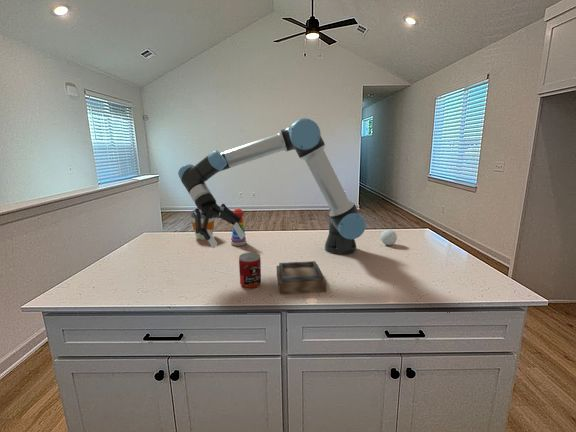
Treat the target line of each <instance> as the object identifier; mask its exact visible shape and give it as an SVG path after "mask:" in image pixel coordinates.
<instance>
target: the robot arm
mask: <svg viewBox="0 0 576 432" xmlns="http://www.w3.org/2000/svg"><path fill="white" fill-rule="evenodd" d="M325 146H326V144H325V141H324V139H323V137H322V135H321V129H320V127H319V125H318V124H317V122H315V121H314V120H312V119H310V118H307V117H305V118H304V117H302V118H299V119H297V120H295V121H294V122H293V123H292V124H291V125H290V126H288V127H286V128H284V129H280V130H279V132H277V133H275V134H272V135H270V136H267V137H264V138H260V139H257V140H254V141H252V142H248V143H246V144H243V145H240V146H237V147H235V148H234V147H233V148H231V149H228V150H225V151H223V152H220V151H219V150H213V151H212V152H210V153H208V155H206V156H205V157H204V158H203V159H202V160H200V161H199V162H198V163H196V164H195V165H193V164H192V163H190V164H189V163H188V164H185V165H183V166H181V167H180V169H179V170H178V173H177V175H178V177H179V178H180V182H181V183H182V185H183V187H184V188H185V190H186V191H187V192H188V194H189V196H190V198H191V199H192V201H193V203H194V204H195V206H196V208H195V209H194V210H195V211H194V213H193V214H194V216H195V227H196V233H197V234H198V233H200V235H203V236H204V237H205V239H204V240H205V241H208V243H209V244H210V246H211V247H212V249H215V248H216V246H217V245H218V242H217V240H216V239H215V237H214V236H213V235H214V234H213V235H212V234H211V232H210V230H209V229H208V230H207V231H206V229H207V225H208V221H209V218H210V219H212V218H214V219H215V218H218V219H221V220H223V221H225V222H227V223H229V224H230V225H232V229H233V228H234V229H235V231H236V232H237V234H238V236H239V237H240V239H243V238H244V237H246V233H245V232H243V231H242V227H241V226H240V224H239V222H240V220H241V218H242V217H241V218H240V217H238V216H237V215H236V214H235V213H233V211H232V209H229V207H227V205H226V204H225V203H222V204H221V205H218V204H217V200H216V198H215V197H214V195H213V194H212V192H211V190H210V189H209V187H208V185H207V184H206V181H208V180H209V179H211V178H212V177H214V175H216V174H218V173H219V172H222V171H225V170H229V169H230V168H233V167H237V166H240V165H244V164H246V163H249V162H253V161H255V160H258V159H261V158H264V157H268V156H271V155H274V154H277V153H280V152H283V151H284V152H290V151H292V150H293V151H295V152H296V154H297V156H298V157H299V159H301V160H303V161H304V162H305V163H306V165H307V167H308V169H309V171H310V172H311V175H312V177H313V178H314V180H315V182H316V184H317V186H318V188H319V190H320V192H321V194H322V195H323V197H324V199H325V201H326V203H327V206H328V207H329V209H328V213H329V214H328V215H329V216H328V218H329V219H328V236H327V238H326V240H325V243H324V250H325V251H326V252H327V253H331V254H334V255H351V254H354V253H355V252H357V244H356V243H357V242H356V240H355V239H358V238H360V237H361V236H362V235H363V233H365V230H366V227H367V222H366V219H365V217H364V216H363V215H362V214H361V213H360V212H359V209H358V208H357V206H356V204H355V201H352V200H350V199H349V198H348V196H347V194H346V192H345V190H344V188H343V187H342V184H341V181H340V180H339V178H338V176H337V174H336V172H335V170H334V168H333V166H332V164H331V162H330V160H329V158H328V156H327V154H326V151H325V148H326V147H325ZM201 214H202V215H204V221H203V225H202V228H201ZM244 233H245V234H244Z"/></svg>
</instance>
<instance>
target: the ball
mask: <svg viewBox="0 0 576 432" xmlns="http://www.w3.org/2000/svg"><path fill="white" fill-rule="evenodd" d="M380 240H381V243H382V244H383V245H386V246H392V245H395V243H396V242H397V240H398V235H397V232H395V231H394V230H392V229H385V230H383V231H382V232H381V234H380Z"/></svg>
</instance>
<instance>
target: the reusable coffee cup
mask: <svg viewBox="0 0 576 432" xmlns="http://www.w3.org/2000/svg"><path fill="white" fill-rule="evenodd" d="M194 211H195V209H194V210H191V211H190V218H191V220H192V221H191V224H192V229H193V230H194V235H195V238H196V239H197V240H206V239H205V237H204V236H203V235H200V233H198V234H197V233H196V227H195V216H194V214H193V213H194ZM203 221H204V215H202V214H201V228H202V225H203ZM214 228H215V218H212V219H210V218H209V221H208V225H207V229H206V231H207V230H208V229H209V230H210V232H211V234H212V235H214V234H213V233H214Z"/></svg>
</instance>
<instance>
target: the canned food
mask: <svg viewBox="0 0 576 432" xmlns="http://www.w3.org/2000/svg"><path fill="white" fill-rule="evenodd" d="M261 262H262V261H261V254H260V253H257V252H244V253H241V254H240V255H239V256H238V267H239V268H238V270H239V284H240V286H241V288H244V289H247V290H252V289H253V290H254V289H256V288H258V287H260V286H261V284H262V274H261V273H262V272H261V271H262V269H261V267H262V265H261V264H262V263H261Z"/></svg>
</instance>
